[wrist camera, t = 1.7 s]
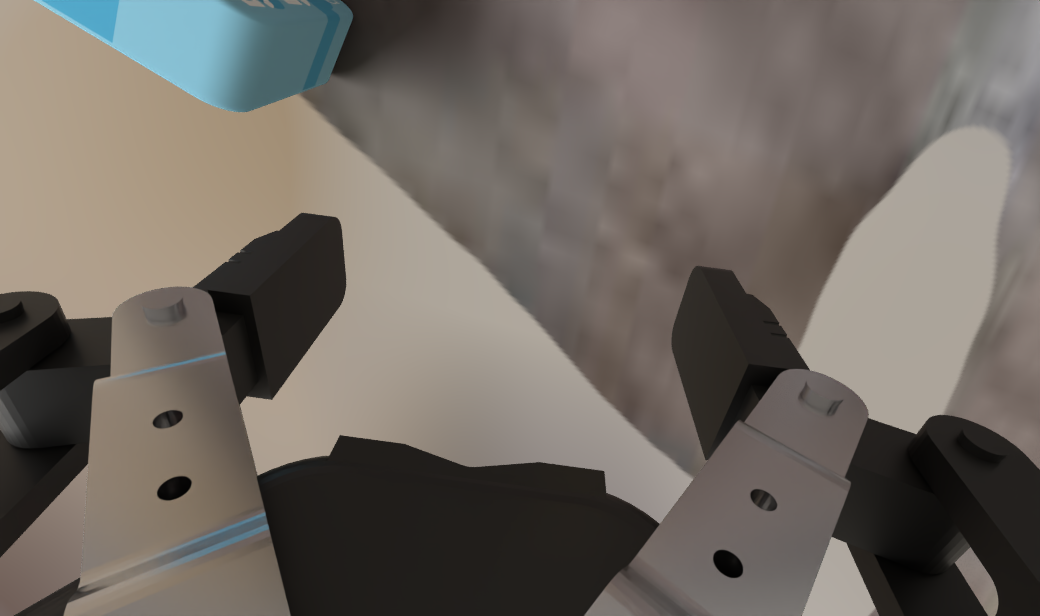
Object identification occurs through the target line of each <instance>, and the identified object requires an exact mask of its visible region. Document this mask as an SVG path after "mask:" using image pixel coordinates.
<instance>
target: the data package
mask: <svg viewBox="0 0 1040 616" xmlns="http://www.w3.org/2000/svg"><path fill="white" fill-rule="evenodd" d="M34 1H36V2H38V3H39V4H41V5H43V6H45V7H46V8H48V9H49V10H51V11H53V12H54V13H56V14H58V15H59V16H61V17H63V18H65V19H66V20H68V21H69V22H71V23H73V24H74V25H76V26H78V27H79V28H81V29H83V30H84V31H86V32H88V33H89V34H91V35H93V36H94V37H96V38H98V39H99V40H101V41H103V42H104V43H106V44H108V45H109V46H111V47H113V48H114V49H116V50H118V51H119V52H121V53H123V54H124V55H126V56H128V57H129V58H131V59H133V60H134V61H136V62H138V63H139V64H141V65H143V66H144V67H146V68H148V69H149V70H151V71H153V72H155V73H156V74H158V75H159V76H161V77H163V78H164V79H166V80H168V81H169V82H171V83H173V84H174V85H176V86H178V87H180V88H181V89H183V90H184V91H186V92H188V93H189V94H191V95H193V96H194V97H196V98H198V99H200V100H202V101H203V102H205V103H208V104H210V105H212V106H215V107H218V108H221V109H224V110H228V111H234V112H248V111H251V110H254V109H257V108H260V107H262V106H265V105H268V104H271V103H273V102H276V101H279V100H282V99H284V98H287V97H290V96H292V95H295V94H298V93H301V92H304V91H306V90H309V89H312V88H314V87H317V86H320V85H323V84H325V83H327V82H328V80H329V78H330V75H331V73H332V70H333V68H334V65H335V63H336V60H337V58H338V55H339V52H340V50H341V47H342V45H343V42H344V40H345V37H346V35H347V32H348V30H349V27H350V25H351V22H352V19H353V13H352V11H351V10H350V9H349V7H348V6H347V5H346V4H344V3H343V2H342V1H341V0H34Z"/></svg>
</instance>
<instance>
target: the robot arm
mask: <svg viewBox="0 0 1040 616" xmlns="http://www.w3.org/2000/svg"><path fill="white" fill-rule="evenodd" d="M345 290H346V272H345V261H344V250H343V239H342V229H341V224H340V221H339V220H338V218H336V217H330V216H323V215H315V214H308V213H301V214H299V215H298V216H297V217H296V218H294V219H293V220H292V221H291V222H289V223H288V224H287V225H286V226H284V227H283V228H282V229H281V230H280V231H275V232H272V233H269V234H267V235H264V236H262V237H259V238H256V239H254V240H253V241H252V242H250V243H249V244H248V245H247V246H245V247H244V248H243V249H241V252H240V253H236V254H235V255H234V256H232V257H231V258H230V259H229V262H225V263H224V264H222V265H221V266H220V267H218V268H217V269H216V270H215V271H213V272H212V273H211V274H210V275H208V276H207V277H206V278H204V279H203V280H202V281H201V282H199V283H198V284H197V285H195V286H194V287H193V288H190V287H168V288H161V289H156V290H151V291H148V292H144V293H142V294H139V295H136V296H134V297H132V298H130V299H128V300H126V301H125V302H123V303H122V304H121V305H119V306H118V307H117V308H116V310H115V311H114V313H113V316H112V317H107V318H106V317H105V318H87V319H66V317H65V315H64V313H63V311H62V308H61V306H60V304H59V302H58V300H57V299H56V298H55V297H54V296H52V295H50V294H47V293H41V292H30V291H29V292H28V291H27V292H12V293H5V294H0V557H1V556H2V555H3V554H4V553H5V552H6V551H7V550H8V549H9V548H10V546H11V545H12V544H13V543H14V542H15V541H16V540H17V539H18V538H19V537H20V536H21V535H22V534H23V532H24V531H26V529H27V528H28V527H29V526H30V525H31V524H32V523H33V522H34V521H35V520H36V519H37V518H38V517H39V516H40V515H41V513H42V512H43V511H44V510H45V509H46V508H47V507H48V506H49V505H50V504H51V502H53V501H54V499H55V498H56V497H57V496H58V495H59V494H60V493H61V492H62V491H63V490H64V489H65V488H66V487H67V486H68V485H69V483H70V482H71V481H72V480H73V479H74V478H75V477H76V476H77V475H78V474H79V473H80V472H81V471H82V470H83V469H84V467H85V466H86V465H87V464H88V473H87V489H86V504H85V519H84V535H83V550H82V567H81V577H80V578H78V579H77V580H75V581H73V582H71V583H70V584H68V585H66V586H64V587H63V588H61V589H59V590H58V591H56V592H54V593H52V594H51V595H49V596H47V597H45V598H44V599H42V600H40V601H38V602H37V603H35V604H33V605H31V606H30V607H28V608H26V609H25V610H23V611H21V612H20V613H18V614H16V615H14V616H802V614H803V611H804V609H805V606H806V603H807V601H808V597H809V595H810V592H811V590H812V587H813V584H814V582H815V579H816V577H817V574H818V571H819V569H820V565H821V563H822V561H823V558H824V555H825V553H826V550H827V547H828V545H829V542H830V539H831V537H834V538H836V539H839V540H841V541H844V542H846V543H847V545H848V548H849V550H850V552H851V554H852V556H853V558H854V561H855V563H856V565H857V567H858V569H859V572H860V574H861V576H862V578H863V581H864V583H865V585H866V587H867V589H868V592H869V594H870V596H871V598H872V601H873V603H874V605H875V607H876V609H877V612H878V614H879V616H988V615H987V613H986V612H985V610H984V609H983V607H982V605H981V604H980V602H979V601H978V599H977V597H976V596H975V594H974V593H973V591H972V590H971V588H970V586H969V585H968V583H967V582H966V580H965V578H964V577H963V575H962V574H961V572H960V570H959V569H958V567H957V566H956V564H955V563H954V562H956V561H957V560H958V559H959V558H960V557H961V556H962V555H963V554H964V553H965V552H966V551H967V550H968V549H969V548H970V547H971V548H972V550H973V551H974V553H975V554H976V556H977V557H978V559H979V560H980V562H981V563H982V565H983V566H984V568H985V569H986V570H987V572H988V573H989V575H990V577H991V578H992V580H993V582H994V584H995V586H996V590H997V593H998V603H999V604H998V610H997V614H996V615H995V616H1040V470H1039V469H1038V468H1037V467H1036V465H1035V464H1034V463H1033V462H1032V461H1031V460H1030V459H1029V458H1028V457H1027V456H1026V455H1025V454H1024V453H1023V452H1022V451H1021V450H1020V449H1018V448H1017V447H1016V446H1015V445H1014V444H1012V443H1011V442H1009V441H1008V440H1007V439H1005V438H1004V437H1002V436H1000V435H999V434H997V433H995V432H993V431H992V430H990V429H988V428H986V427H984V426H981V425H979V424H977V423H974V422H972V421H969V420H966V419H963V418H959V417H954V416H948V415H937V416H932V417H930V418H929V419H928V420H927V421H926V423H925V424H924V425H923V426H922V428H921V429H920V431H919V432H918V433H917V434H914V433H911V432H907V431H905V430H902V429H899V428H896V427H892V426H890V425H887V424H884V423H881V422H878V421H875V420H872V419H869V418H868V415H869V414H868V409H867V407H866V405H865V404H864V402H863V401H862V400H861V399H860V397H859V396H858V395H857V394H855V393H854V392H853V391H852V390H851V389H849V388H848V387H846V386H845V385H843V384H842V383H840V382H839V381H836V380H835V379H833V378H831V377H828V376H826V375H824V374H821V373H818V372H814V371H810V370H809V368H808V366H807V365H806V363H805V362H804V360H803V359H802V357H801V356H800V354H799V353H798V351H797V349H796V348H795V346H794V345H793V343H792V342H791V340H790V339H789V338H787V334H786V333H785V331H784V330H783V328H782V327H781V326H779V322H778V321H777V319H776V317H775V316H774V314H773V313H772V311H771V310H770V308H768V307H767V306H766V305H765V304H763V303H762V302H761V301H759V300H758V299H757V298H756V297H754V296H753V295H750V294H746V292H745V291H744V289H743V288H742V286H741V284H740V283H739V281H738V279H737V278H736V276H735V274H734V273H733V272H732V271H731V270H725V269H717V268H710V267H702V266H696V267H695V268H694V269H693V271H692V273H691V275H690V277H689V280H688V283H687V286H686V289H685V292H684V295H683V298H682V301H681V304H680V307H679V310H678V313H677V316H676V319H675V323H674V326H673V331H672V351H673V355H674V358H675V361H676V364H677V368H678V371H679V374H680V378H681V381H682V384H683V388H684V391H685V394H686V397H687V401H688V404H689V407H690V411H691V414H692V417H693V421H694V424H695V427H696V430H697V434H698V437H699V440H700V444H701V447H702V450H703V454H704V457H705V460H708V461H707V462H706V464H705V465H704V466H703V468H702V469H701V470H700V471H699V473H698V474H697V475H696V477H695V478H694V479H693V481H692V482H691V483H690V485H689V486H688V487H687V489H686V490H685V492H684V493H683V494H682V496H681V497H680V498H679V500H678V501H677V502H676V504H675V505H674V506H673V507H672V509H671V510H670V511H669V513H668V514H667V515H666V517H665V518H664V519H663V521H662V522H661V523H660V524H659V523H658V522H657V521H655V520H654V519H653V518H651V517H650V516H649V515H647V514H646V513H645V512H643V511H641V510H640V509H638V508H636V507H635V506H633V505H632V504H630V503H628V502H626V501H624V500H622V499H619V498H617V497H615V496H613V495H610V494H608V493H606V486H605V474H604V471H599V470H592V469H585V468H577V467H569V466H562V465H555V464H547V463H541V462H537V463H524V464H511V465H498V466H485V467H467V466H463V465H460V464H457V463H455V462H452V461H449V460H447V459H444V458H441V457H438V456H435V455H433V454H430V453H428V452H425V451H422V450H419V449H417V448H414V447H411V446H409V445H406V444H400V443H393V442H385V441H378V440H371V439H363V438H356V437H349V436H341V435H340V436H339V438H338V440H337V442H336V444H335V446H334V448H333V450H332V452H331V454H330V456H321V457H315V458H309V459H304V460H300V461H296V462H293V463H288V464H286V465H283V466H280V467H278V468H274V469H272V470H269V471H267V472H265V473H263V474H261V475H257V471H256V467H255V463H254V459H253V455H252V451H251V447H250V444H249V439H248V436H247V431H246V428H245V424H244V420H243V416H242V412H241V408H240V404H241V403H242V401H243V400H244V399H245V398H246V396H249V397H256V398H263V399H271V400H272V399H273V397H274V396H275V395H276V393H277V392H278V391H279V389H280V388H281V387H282V385H283V384H284V382H285V381H286V380H287V378H288V377H289V376H290V374H291V373H292V371H293V370H294V369H295V367H296V366H297V365H298V363H299V362H300V360H301V359H302V358H303V356H304V355H305V354H306V352H307V351H308V349H309V348H310V347H311V345H312V344H313V342H314V341H315V340H316V338H317V337H318V336H319V334H320V333H321V331H322V330H323V329H324V327H325V326H326V325H327V323H328V322H329V320H330V319H331V318H332V316H333V315H334V314H335V312H336V311H337V309H338V308H339V307H340V305H341V303H342V301H343V298H344V295H345Z"/></svg>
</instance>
